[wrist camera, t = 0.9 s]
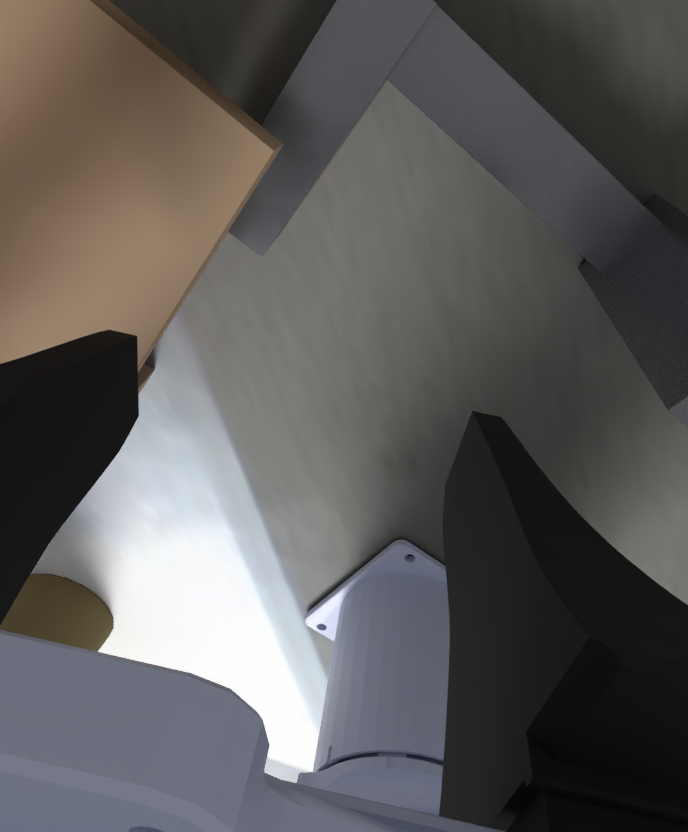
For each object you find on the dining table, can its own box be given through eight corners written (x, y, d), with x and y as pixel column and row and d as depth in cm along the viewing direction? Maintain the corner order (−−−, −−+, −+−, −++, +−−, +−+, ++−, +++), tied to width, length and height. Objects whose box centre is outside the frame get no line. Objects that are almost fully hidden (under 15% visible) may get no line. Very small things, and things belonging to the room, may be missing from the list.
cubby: (318, 120, 18) (273, 151, 13) (139, 393, 25) (63, 483, 20) (52, -106, 16) (-122, -173, 11) (-68, 258, 22) (-212, 321, 17)
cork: (106, 656, 35) (-8, 873, 26) (8, 623, 35) (-144, 832, 26) (120, 596, 32) (-5, 820, 23) (12, 559, 32) (-161, 773, 22)
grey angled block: (717, 255, 19) (908, 399, 11) (519, 421, 23) (561, 606, 15) (392, -66, 16) (353, -164, 8) (230, 196, 20) (106, 293, 12)
